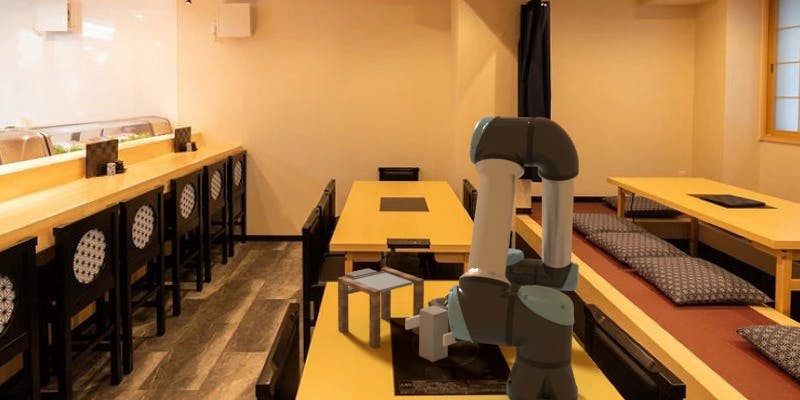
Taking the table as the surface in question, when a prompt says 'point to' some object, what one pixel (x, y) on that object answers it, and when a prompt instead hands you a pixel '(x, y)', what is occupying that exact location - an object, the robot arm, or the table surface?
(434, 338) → the granite block
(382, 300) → the trapdoor frame
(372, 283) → the flap
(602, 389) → the table surface
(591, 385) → the table surface
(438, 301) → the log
